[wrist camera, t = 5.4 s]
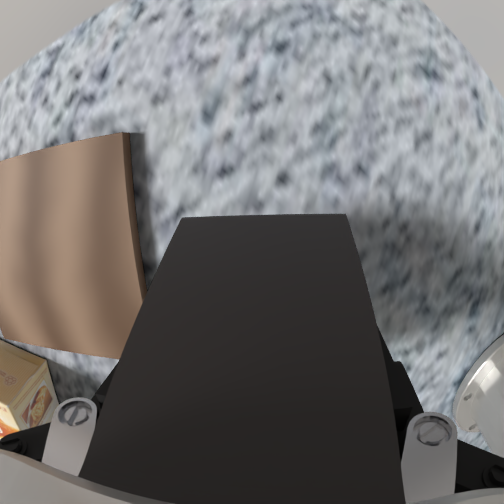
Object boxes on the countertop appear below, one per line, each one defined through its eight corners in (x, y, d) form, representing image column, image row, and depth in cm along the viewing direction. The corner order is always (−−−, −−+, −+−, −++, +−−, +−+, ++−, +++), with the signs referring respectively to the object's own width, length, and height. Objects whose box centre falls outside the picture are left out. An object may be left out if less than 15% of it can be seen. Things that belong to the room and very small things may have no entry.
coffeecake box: (6, 407, 16) (68, 509, 23) (48, 357, 23) (87, 468, 29) (-82, 345, 16) (-20, 458, 23) (-44, 314, 23) (3, 427, 29)
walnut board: (129, 132, 17) (122, 132, 16) (159, 354, 21) (155, 363, 21) (-27, 171, 18) (-35, 172, 17) (10, 333, 23) (4, 338, 22)
